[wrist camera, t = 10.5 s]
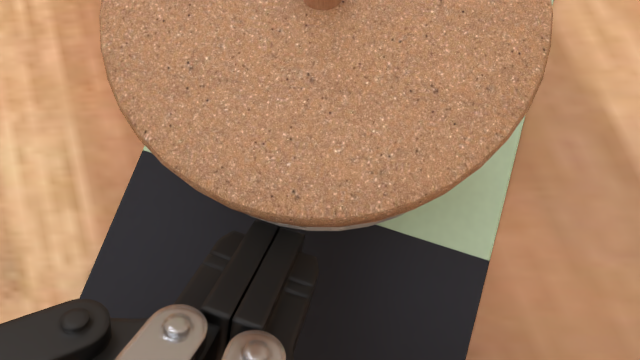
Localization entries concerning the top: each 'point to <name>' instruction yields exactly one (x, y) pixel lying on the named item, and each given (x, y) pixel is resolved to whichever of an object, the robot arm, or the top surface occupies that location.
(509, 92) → the trinket box
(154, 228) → the runner mat
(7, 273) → the top surface
